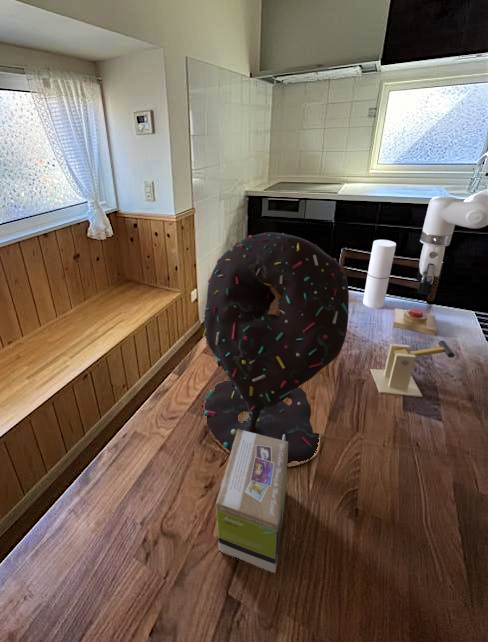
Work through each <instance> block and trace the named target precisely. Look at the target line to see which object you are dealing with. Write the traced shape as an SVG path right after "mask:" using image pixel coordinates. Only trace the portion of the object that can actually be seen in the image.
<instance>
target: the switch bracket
mask: <svg viewBox="0 0 488 642" xmlns="http://www.w3.org/2000/svg"><path fill="white" fill-rule="evenodd" d="M401 349H406V351H407V352H410V351H411V346H410V345H409V344H399V343H390V344H389V349H388V352H387V356H386V357H387V358H386V362H385V366H384V369H379V368H377V369H376V368H370V373H371V375H372V378H373V380H374V383H375V385H376V388H377V390H378V393H379V394H386V395H395V396H396V395H397V396H406V397H408V396H409V397H415V398H417V397H418V398H423V393H421V391H420V388H419V387H418V385H417V384H416V381H415V379H414V377H413V376H412V374H413V370H414V367H415V364H416V360H417V357H416V356H415V355H411V354H398V353H396V354H395V355H394V350H401Z"/></svg>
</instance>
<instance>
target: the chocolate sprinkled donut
mask: <svg viewBox="0 0 488 642" xmlns="http://www.w3.org/2000/svg"><path fill="white" fill-rule="evenodd" d="M349 291H350V290H349V283H348V278H347V275H346V272H345V271H344V269H343V267H342V265H341V264H340V263H339V262H338V261H337V258H335V257H334V258H333V257H331V256H330V255H329V254H328V253H326V251H324V250H323V249H321V248H320V247H319V246H318V245H317V244H316V243H313V242H311V241H309V240H307V239H305V238H302V237H299V236H295V235H291V234H288V233H284V232H282V233H281V232H263V233H259V234H255V235H252V234H249V235H248V236H247V237H245V238H243V239H241V240H240V241H238V242H237V241H236V242H235V244H234V245H232V246H229V248H228V250H226V251H225V252H223V254H222V255H221V256H220V257H219V258H218V259H217V261H216V264H215V266H214V268H213V270H212V272H211V275H210V278H208V280H207V291H206V303H205V308H204V313H203V314H204V315H203V316H202V317H203V322H204V331H203V333H202V337H203V338H205V344H206V345H207V346H208V347H209V349H210V351H211V354H213V355H214V359H215V360H217V366H218V367H221V368H222V370H223V371H224V373H225V374H226V376H227V378H228V379H230V380H231V381H224V382H222V383H219V384H217V385H216V386H215V390H214V391H213V390H212V389H211V390H210V392H211V393H210V394H208V395H207V396H206V397H205V398H206V403H205V410H203V414H204V415H205V416H207V424H208V426H209V429H211V432H212V433H213V435H214V436H215V438H216V439H217V440H219V442H220V443H221V444H222V445H224V447H225V448H227V449H228V450H229V451H230V452H231V450H232V447H233V443H234V440H235V437H236V433H237V430H238V429H240V430H244V431H247V432H251V433H255V434H259V435H263V436H267V437H271V438H275V439H279V440H283V441H288V460H287V464H288V463H290V462H292V461H298V462H300V461H304V460H305V461H306V460H307V459H310V458H311V457H312V456H313V455H314V453H316V452H315V451H317V450H316V449H317V447H318V444H317V443H318V442H319V439H318V438H319V434H320V433H317V432H314V429H313V425H312V424H311V411H312V409H311V405H310V402H309V400H308V398H307V393H306V392H305V390H303V388H301V386H302V385H303V384H305V383H307V382H308V381H310V380H312V379H313V378H314V377H315V376H316V375H317V374H318V373H319V372H321V371H322V370H323V369H324V368H325V367H327V366H328V365H330V363H332V362H333V361H334V360H335V359H336V358H337V357H338V356H339V355H340V353H341V351H342V348H343V346H344V344H345V341H346V337H347V333H348V325H349V314H350V311H349V307H350V306H349V303H350V299H349V296H350V293H349ZM273 302H275V303H274V314H273V313H269V311H270V309H271V305H272V304H273ZM286 399H290V400H291V403H290V404H288V403H286V402H285V401H284V400H286ZM243 411H245V412H246V411H247V412H249V416H250V417H249V418H248V419H247V420H246V419H245V418H244V417H243V419H244V420H245V421H243V423H240V422H239V421H238V415H239V414H240V413H241V412H243Z"/></svg>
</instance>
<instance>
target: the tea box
mask: <svg viewBox="0 0 488 642" xmlns="http://www.w3.org/2000/svg"><path fill="white" fill-rule="evenodd" d="M287 460H288V441H283V440H279V439H275V438H271V437H267V436H263V435H259V434H255V433H251V432H247V431H244V430H240V429H238V430H237V433H236V437H235V440H234V443H233V447H232V450H231V454H230V455H229V457H228V461H227V464H226V468H225V471H224V475H223V478H222V481H221V484H220V488H219V491H218V493H217V495H218V496H217V498H216V501H215V513H216V525H217V539H218V551H219V550H220V551H221V552H223V553H225V554H228V555H231V556H234V557H237V558H239V559H242V560H244V561H247V562H249V563H251V564H254V565H256V566H259V567H261V568H264V569H267V570H269V571H271V572H274V573H275V572H277V566H278V565H277V564H278V558H279V550H280V543H281V536H282V530H283V529H282V528H283V519H284V513H285V504H286V503H285V502H286V493H287V492H286V491H287V478H288V477H287V476H288V474H287V473H288V467H287ZM221 552H220V553H221ZM223 553H222V554H223ZM225 554H224V555H225ZM275 574H276V573H275Z"/></svg>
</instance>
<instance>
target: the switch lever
mask: <svg viewBox="0 0 488 642" xmlns="http://www.w3.org/2000/svg"><path fill="white" fill-rule="evenodd" d="M438 345H439V346H437V347H430V348H425V349H424V348H423V349H418V350H417V349H416V350H410V351H409V352H407V351H406V349H401V350H394V355H395V354H396V353H398V354H411V355H415V356H416V358H417V357H423V356H428V355H435V354H442V353H445V355H446V356H447V357H448V358H454V357H455V353H454V351H452V349H451V348H450V347H449V345H448V344H447V342H445V340H440V341H438Z"/></svg>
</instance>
